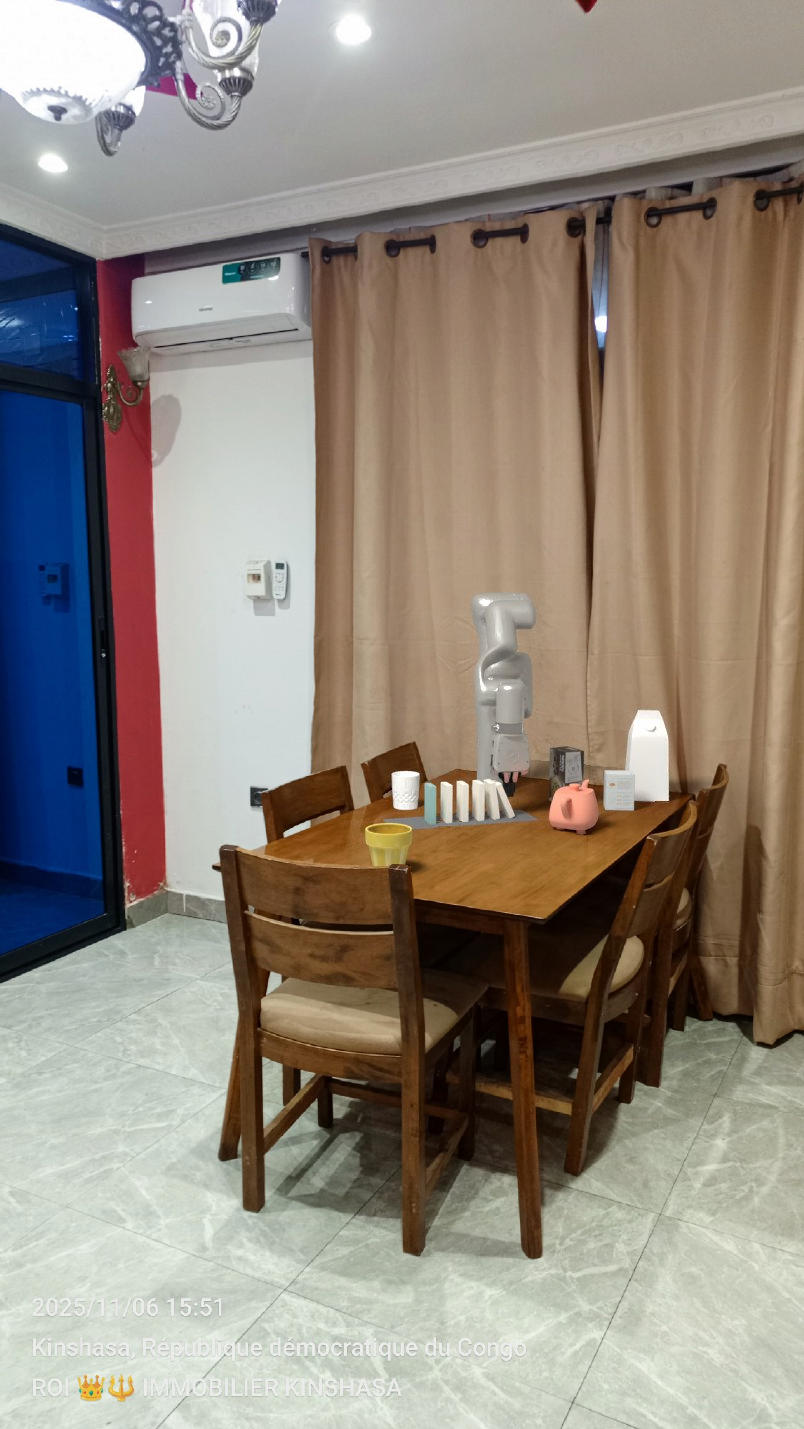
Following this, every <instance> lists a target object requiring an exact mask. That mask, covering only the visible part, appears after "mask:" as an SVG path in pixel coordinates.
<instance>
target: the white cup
mask: <svg viewBox="0 0 804 1429" xmlns="http://www.w3.org/2000/svg"><path fill="white" fill-rule="evenodd" d="M420 775H421V773H419V772H417V771H411V770H409V771H408V770H404V771H402V770H400V771H395V772H392V773H391V788H392V790H391V792H392V803H393V808H394V809H396V810H402V811H406V810H407V811H408V810H409V811H411V810H415V809H417V808H418V807H419V797H420V796H419V793H420V777H421V776H420Z"/></svg>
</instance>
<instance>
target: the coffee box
mask: <svg viewBox="0 0 804 1429" xmlns="http://www.w3.org/2000/svg"><path fill="white" fill-rule="evenodd" d="M548 763H549V765H548V766H549V773H548V774H549V777H548V778H549V780H548V782H549V783H548V785H549V786H548V787H549V788H548V801H550V802H552V800H553V797H554V794H555V792H556V791H557V790H558V789H560V788H562V787H565V786H570V785H569V784H573V783H575V784H580V787H581V786H582V784H583V781H584V771H585V770H584V769H585V766H584V765H585V750H581V749H578V748H576V747H572V746H555V747H549V762H548Z"/></svg>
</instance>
